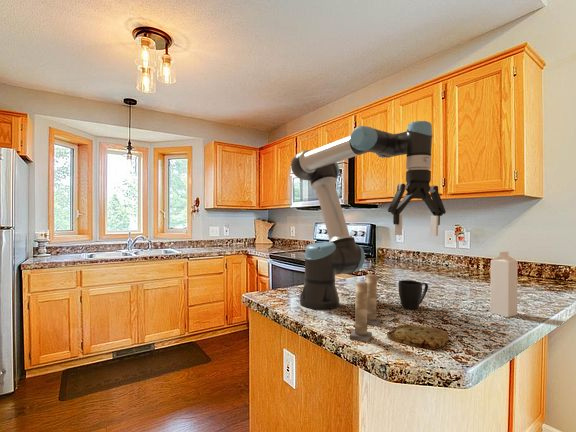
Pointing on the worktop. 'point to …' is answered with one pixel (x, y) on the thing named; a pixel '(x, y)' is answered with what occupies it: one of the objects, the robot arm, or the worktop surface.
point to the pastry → (419, 336)
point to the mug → (411, 293)
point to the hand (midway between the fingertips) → (416, 235)
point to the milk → (503, 285)
